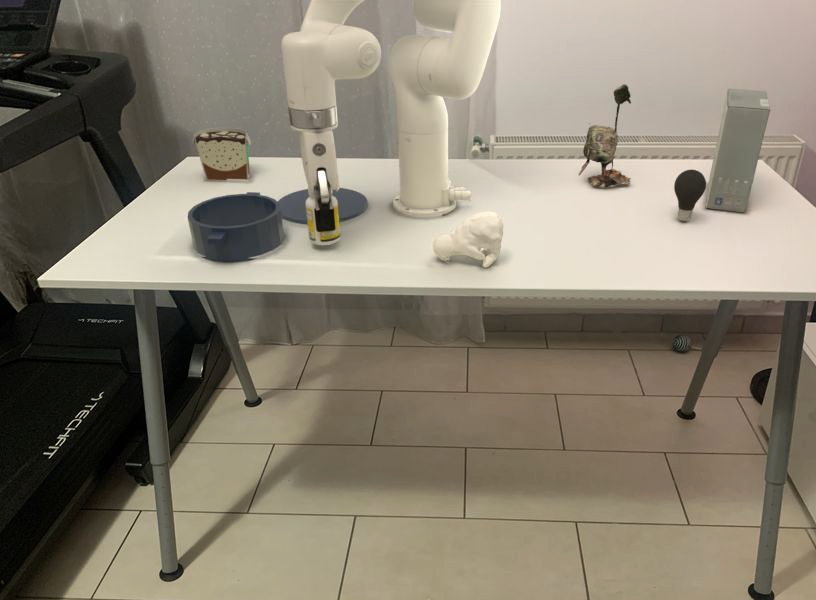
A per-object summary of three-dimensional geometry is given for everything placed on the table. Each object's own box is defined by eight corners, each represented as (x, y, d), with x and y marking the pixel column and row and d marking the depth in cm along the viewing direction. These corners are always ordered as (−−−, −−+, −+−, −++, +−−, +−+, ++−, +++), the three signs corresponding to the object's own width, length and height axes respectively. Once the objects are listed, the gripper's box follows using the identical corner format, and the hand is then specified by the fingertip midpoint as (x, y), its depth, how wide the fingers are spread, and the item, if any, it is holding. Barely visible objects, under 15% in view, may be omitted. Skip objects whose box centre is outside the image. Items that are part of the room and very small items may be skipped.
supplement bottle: (346, 235, 127) (341, 182, 121) (331, 248, 122) (326, 193, 117) (318, 231, 128) (313, 178, 123) (303, 243, 124) (297, 189, 118)
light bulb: (700, 218, 137) (711, 167, 132) (696, 229, 133) (706, 177, 128) (671, 214, 139) (680, 163, 134) (665, 224, 135) (674, 172, 130)
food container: (264, 172, 159) (257, 127, 154) (255, 182, 154) (248, 135, 149) (210, 170, 160) (202, 125, 155) (200, 180, 155) (190, 134, 150)
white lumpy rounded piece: (503, 219, 115) (428, 225, 115) (506, 267, 119) (434, 273, 120) (501, 205, 120) (430, 210, 121) (504, 251, 124) (435, 256, 125)
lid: (374, 193, 149) (373, 162, 145) (358, 228, 134) (356, 195, 130) (289, 191, 150) (285, 160, 146) (264, 225, 135) (259, 192, 131)
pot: (298, 221, 136) (294, 189, 133) (265, 271, 119) (260, 236, 115) (218, 219, 137) (212, 187, 134) (174, 268, 120) (166, 233, 116)
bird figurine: (576, 175, 158) (585, 81, 147) (628, 177, 157) (642, 82, 146) (577, 188, 151) (587, 90, 140) (632, 190, 150) (646, 92, 139)
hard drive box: (746, 214, 139) (770, 109, 128) (705, 209, 141) (726, 106, 130) (745, 187, 152) (767, 89, 141) (707, 183, 154) (726, 86, 143)
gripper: (344, 130, 108) (353, 241, 117) (330, 102, 122) (338, 204, 131) (294, 133, 106) (307, 246, 116) (285, 105, 120) (297, 207, 130)
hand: (323, 222), depth 123 cm, fingers closed on supplement bottle, 5 cm apart
